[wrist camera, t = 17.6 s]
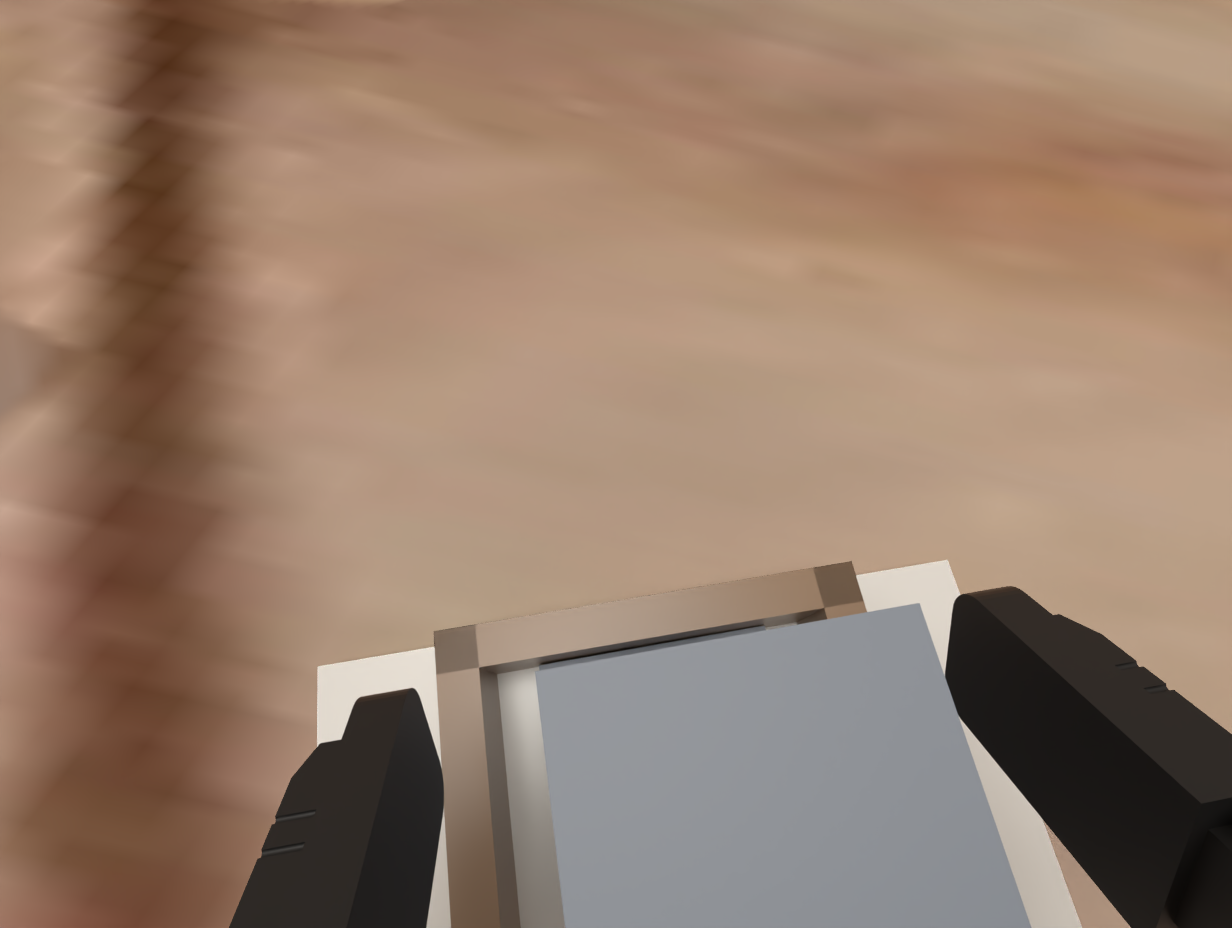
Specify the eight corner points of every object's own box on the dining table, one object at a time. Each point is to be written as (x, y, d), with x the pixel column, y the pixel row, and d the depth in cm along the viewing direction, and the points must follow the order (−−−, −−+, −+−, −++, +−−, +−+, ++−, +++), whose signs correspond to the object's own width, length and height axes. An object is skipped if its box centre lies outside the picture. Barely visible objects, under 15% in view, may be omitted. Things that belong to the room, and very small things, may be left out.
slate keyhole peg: (574, 929, 15) (479, 1441, 4) (542, 668, 17) (427, 589, 7) (817, 879, 15) (1272, 1238, 5) (756, 630, 18) (974, 497, 7)
